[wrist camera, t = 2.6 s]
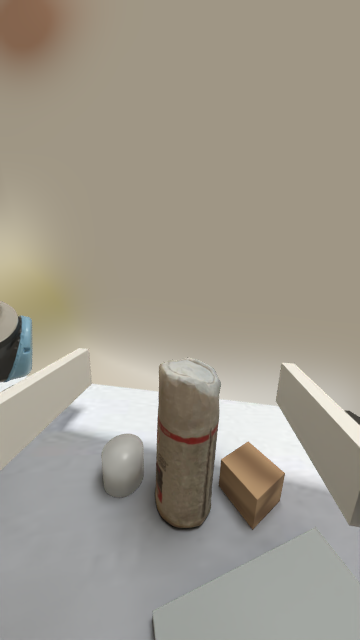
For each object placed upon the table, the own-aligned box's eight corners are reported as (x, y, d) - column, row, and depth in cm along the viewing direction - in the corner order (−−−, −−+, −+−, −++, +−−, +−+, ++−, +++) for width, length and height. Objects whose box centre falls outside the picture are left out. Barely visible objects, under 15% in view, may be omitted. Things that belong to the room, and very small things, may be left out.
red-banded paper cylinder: (165, 459, 33) (166, 349, 28) (214, 472, 31) (224, 356, 26) (144, 518, 25) (141, 378, 20) (208, 541, 23) (221, 391, 18)
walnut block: (252, 530, 24) (257, 499, 23) (218, 486, 29) (221, 459, 28) (279, 501, 27) (284, 473, 26) (245, 466, 32) (248, 441, 31)
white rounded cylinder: (102, 504, 26) (99, 475, 25) (104, 463, 32) (102, 438, 30) (146, 490, 28) (145, 462, 27) (141, 454, 33) (140, 430, 32)
